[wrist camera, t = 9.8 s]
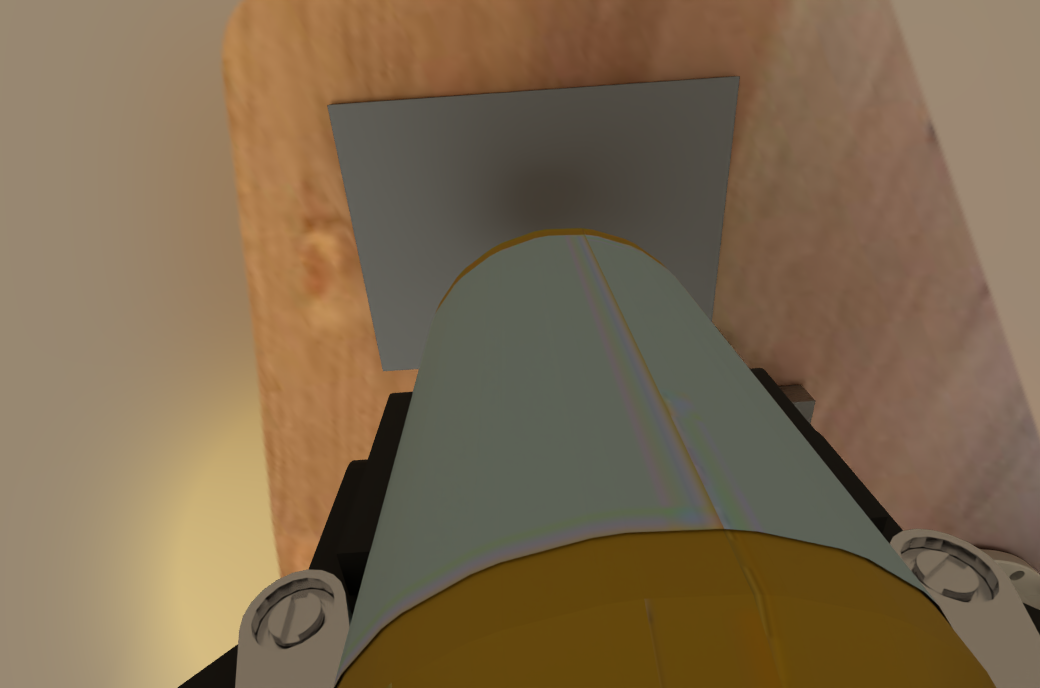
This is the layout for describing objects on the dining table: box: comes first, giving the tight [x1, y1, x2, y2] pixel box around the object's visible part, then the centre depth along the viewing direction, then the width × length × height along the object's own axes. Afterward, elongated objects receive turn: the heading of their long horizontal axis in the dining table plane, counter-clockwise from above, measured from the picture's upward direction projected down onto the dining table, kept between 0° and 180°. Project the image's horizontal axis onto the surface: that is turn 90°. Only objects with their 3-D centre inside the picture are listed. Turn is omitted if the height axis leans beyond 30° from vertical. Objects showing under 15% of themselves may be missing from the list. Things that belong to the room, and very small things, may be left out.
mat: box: [327, 76, 740, 371], centre depth 24 cm, size 16×12×1 cm
